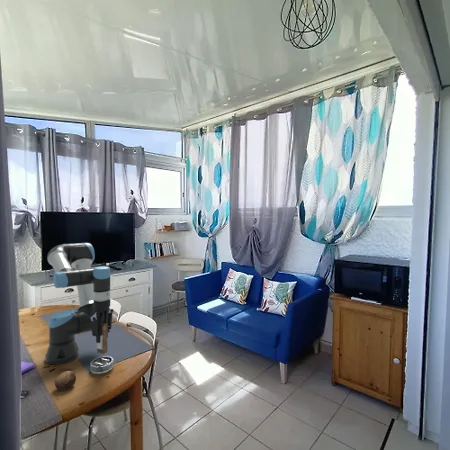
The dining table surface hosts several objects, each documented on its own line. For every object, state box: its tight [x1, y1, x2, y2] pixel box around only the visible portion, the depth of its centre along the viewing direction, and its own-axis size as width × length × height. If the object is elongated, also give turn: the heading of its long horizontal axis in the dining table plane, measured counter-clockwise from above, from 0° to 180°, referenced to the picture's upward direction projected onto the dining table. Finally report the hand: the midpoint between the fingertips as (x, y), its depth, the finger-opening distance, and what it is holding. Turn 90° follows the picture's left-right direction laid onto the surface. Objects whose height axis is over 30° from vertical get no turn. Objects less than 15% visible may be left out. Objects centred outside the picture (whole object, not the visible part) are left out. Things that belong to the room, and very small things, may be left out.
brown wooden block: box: [96, 323, 108, 355], centre depth 134 cm, size 2×4×14 cm, turn 71°
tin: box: [89, 355, 115, 375], centre depth 135 cm, size 10×10×4 cm
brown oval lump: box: [54, 370, 77, 391], centre depth 121 cm, size 8×8×6 cm
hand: (102, 347), depth 135 cm, fingers closed on brown wooden block, 2 cm apart
